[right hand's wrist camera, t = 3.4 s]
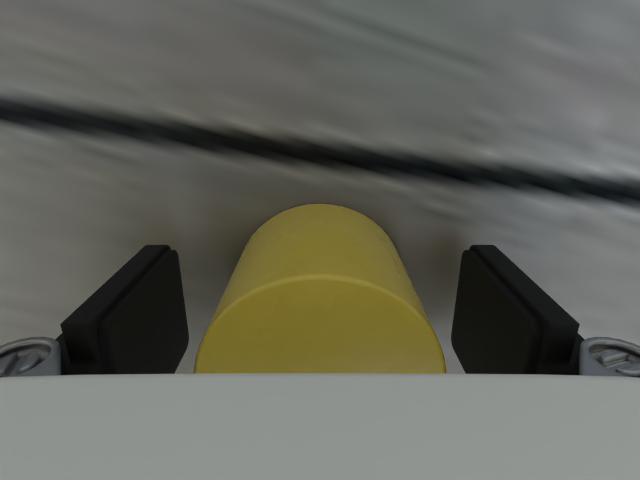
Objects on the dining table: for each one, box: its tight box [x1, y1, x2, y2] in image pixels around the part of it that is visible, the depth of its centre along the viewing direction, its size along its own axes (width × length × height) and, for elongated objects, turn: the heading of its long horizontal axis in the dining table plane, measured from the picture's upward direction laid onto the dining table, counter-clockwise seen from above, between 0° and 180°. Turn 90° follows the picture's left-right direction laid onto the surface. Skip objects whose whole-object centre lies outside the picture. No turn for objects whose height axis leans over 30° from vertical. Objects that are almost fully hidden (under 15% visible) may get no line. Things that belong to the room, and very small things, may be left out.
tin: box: [194, 204, 446, 374], centre depth 10 cm, size 5×5×5 cm
